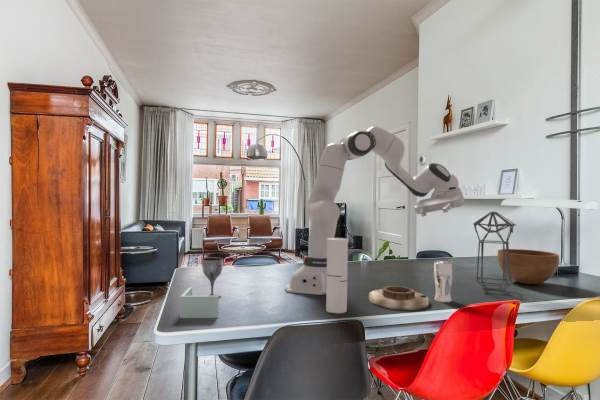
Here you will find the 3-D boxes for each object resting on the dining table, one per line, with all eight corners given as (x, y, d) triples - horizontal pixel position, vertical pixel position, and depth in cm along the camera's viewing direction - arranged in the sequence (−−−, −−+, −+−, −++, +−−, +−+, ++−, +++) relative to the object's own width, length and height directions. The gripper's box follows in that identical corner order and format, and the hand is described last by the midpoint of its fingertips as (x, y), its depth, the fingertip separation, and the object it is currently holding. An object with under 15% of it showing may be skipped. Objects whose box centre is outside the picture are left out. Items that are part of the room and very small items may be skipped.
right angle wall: (217, 319, 114) (218, 296, 114) (179, 320, 113) (180, 296, 113) (223, 308, 126) (223, 287, 126) (188, 308, 125) (189, 287, 125)
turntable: (372, 308, 125) (373, 296, 125) (365, 292, 147) (366, 282, 147) (436, 311, 124) (436, 298, 124) (419, 294, 146) (420, 283, 146)
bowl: (556, 282, 174) (557, 251, 174) (561, 292, 153) (561, 258, 153) (498, 276, 188) (498, 247, 188) (495, 285, 167) (495, 253, 167)
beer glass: (454, 303, 134) (454, 264, 134) (435, 302, 136) (435, 263, 136) (450, 298, 141) (450, 261, 141) (432, 297, 142) (432, 260, 142)
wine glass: (203, 301, 132) (204, 261, 133) (199, 295, 140) (200, 257, 140) (224, 298, 136) (225, 259, 136) (219, 293, 143) (220, 256, 143)
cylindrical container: (324, 307, 127) (325, 237, 127) (344, 307, 127) (345, 237, 127) (327, 313, 120) (329, 239, 120) (348, 313, 120) (349, 240, 120)
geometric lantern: (474, 293, 150) (473, 211, 151) (473, 286, 164) (473, 211, 165) (517, 298, 143) (516, 211, 144) (512, 290, 157) (512, 211, 158)
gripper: (417, 195, 162) (407, 211, 153) (462, 185, 149) (455, 201, 139) (422, 207, 164) (413, 223, 154) (468, 198, 150) (460, 215, 140)
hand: (433, 213), depth 147 cm, fingers open, 8 cm apart
